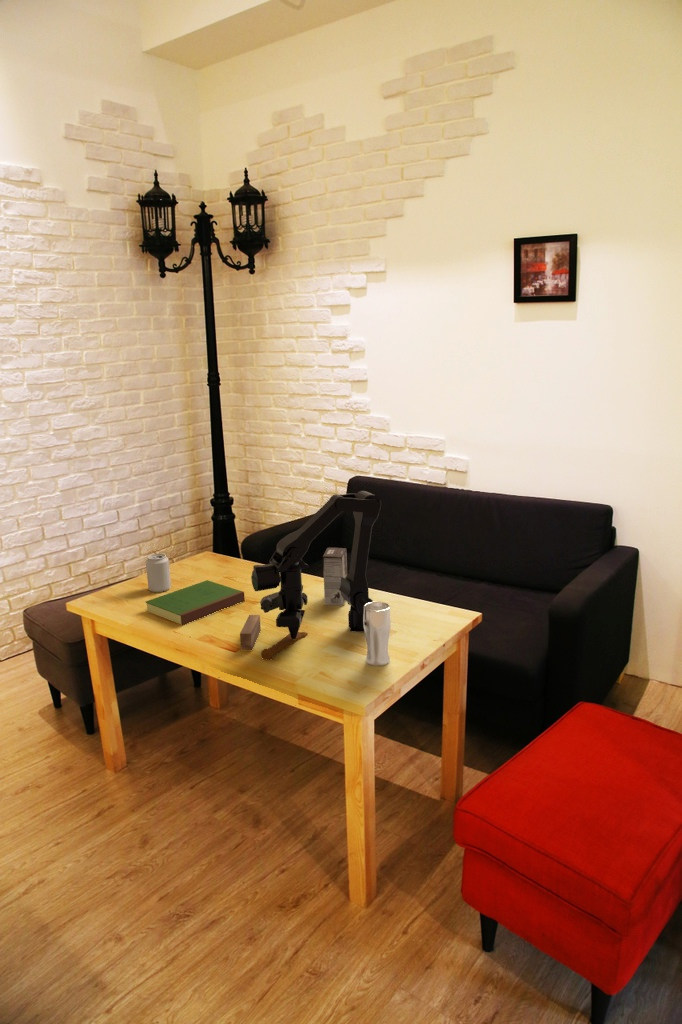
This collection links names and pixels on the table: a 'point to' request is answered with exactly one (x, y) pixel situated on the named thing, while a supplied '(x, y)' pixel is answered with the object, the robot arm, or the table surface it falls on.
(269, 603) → the robot arm
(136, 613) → the table surface
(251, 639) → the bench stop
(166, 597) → the hardcover book
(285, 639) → the primitive tool
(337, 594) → the coffee box
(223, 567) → the table surface
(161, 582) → the can
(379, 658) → the beer glass
